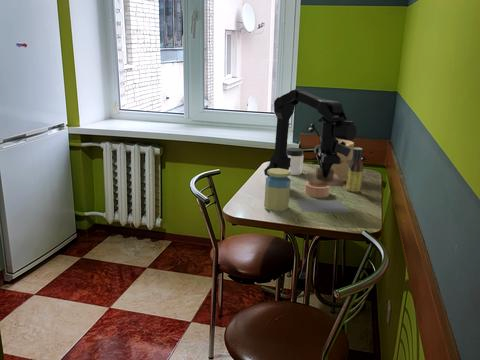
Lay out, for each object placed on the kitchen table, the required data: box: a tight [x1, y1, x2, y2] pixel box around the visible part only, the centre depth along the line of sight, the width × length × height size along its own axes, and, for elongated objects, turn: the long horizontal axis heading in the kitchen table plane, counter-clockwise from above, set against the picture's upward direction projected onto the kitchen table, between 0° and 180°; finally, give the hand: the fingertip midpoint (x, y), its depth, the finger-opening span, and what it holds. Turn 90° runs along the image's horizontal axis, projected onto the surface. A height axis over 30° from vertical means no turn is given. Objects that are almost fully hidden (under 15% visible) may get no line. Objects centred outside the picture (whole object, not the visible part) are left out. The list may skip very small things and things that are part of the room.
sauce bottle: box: [345, 147, 364, 194], centre depth 190 cm, size 6×6×20 cm
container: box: [331, 138, 355, 183], centre depth 211 cm, size 13×13×18 cm
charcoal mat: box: [296, 198, 350, 214], centre depth 172 cm, size 18×14×1 cm
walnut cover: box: [305, 167, 345, 187], centre depth 169 cm, size 12×12×5 cm
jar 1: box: [263, 168, 291, 212], centre depth 166 cm, size 9×9×15 cm
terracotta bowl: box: [304, 181, 331, 199], centre depth 186 cm, size 10×10×5 cm
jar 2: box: [286, 147, 304, 176], centre depth 218 cm, size 9×8×12 cm
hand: (324, 176), depth 169 cm, fingers closed on walnut cover, 3 cm apart
